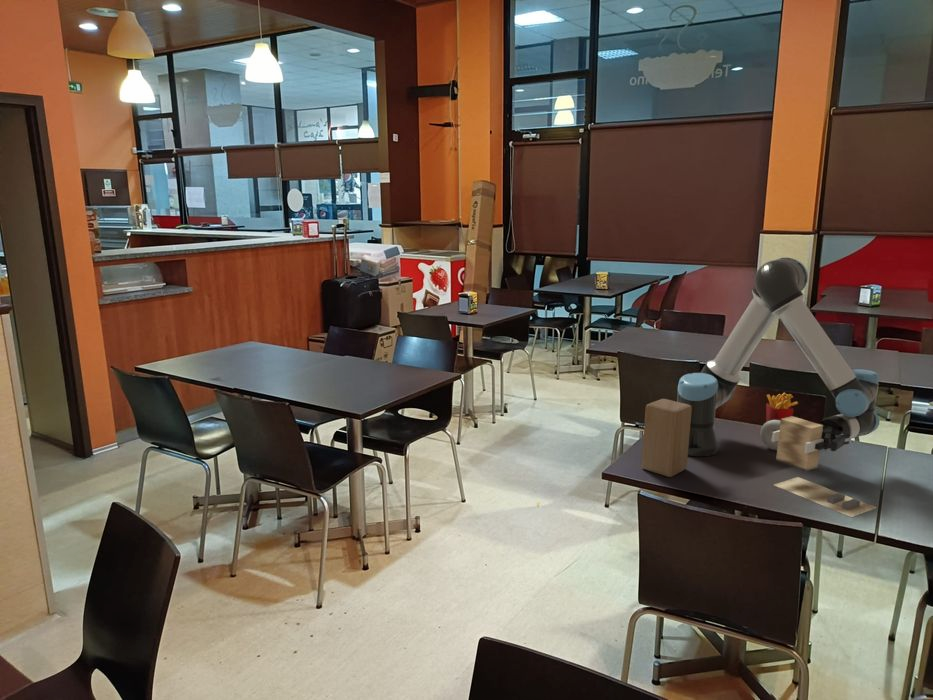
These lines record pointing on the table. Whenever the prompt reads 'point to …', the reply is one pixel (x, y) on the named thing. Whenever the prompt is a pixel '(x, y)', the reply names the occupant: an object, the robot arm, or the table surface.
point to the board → (821, 496)
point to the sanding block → (798, 443)
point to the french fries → (779, 407)
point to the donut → (769, 433)
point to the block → (666, 437)
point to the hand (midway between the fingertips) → (789, 442)
